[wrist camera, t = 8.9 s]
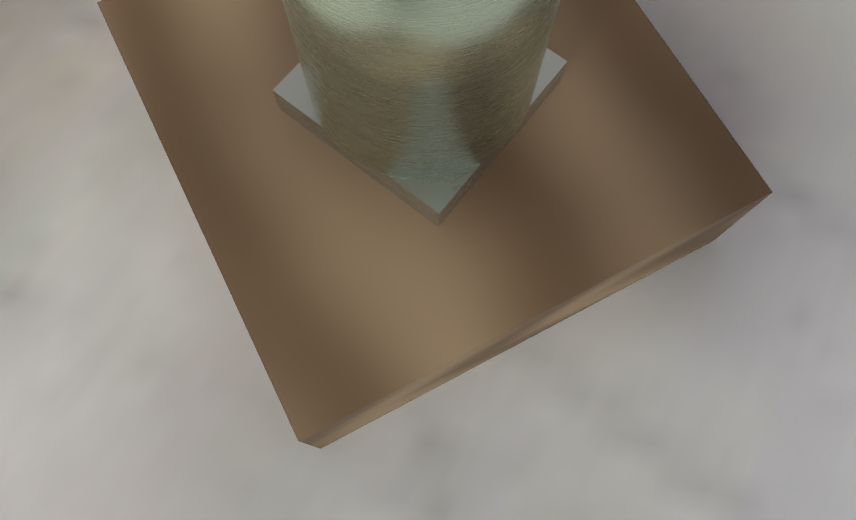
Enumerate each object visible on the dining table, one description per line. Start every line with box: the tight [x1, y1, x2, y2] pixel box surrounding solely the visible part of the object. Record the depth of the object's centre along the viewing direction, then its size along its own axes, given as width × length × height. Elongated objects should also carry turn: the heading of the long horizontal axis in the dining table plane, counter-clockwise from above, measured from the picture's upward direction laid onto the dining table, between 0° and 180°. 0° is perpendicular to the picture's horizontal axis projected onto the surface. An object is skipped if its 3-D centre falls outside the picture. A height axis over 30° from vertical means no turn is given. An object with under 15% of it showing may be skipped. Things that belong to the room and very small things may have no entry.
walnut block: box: [97, 0, 772, 448], centre depth 22 cm, size 14×14×4 cm
